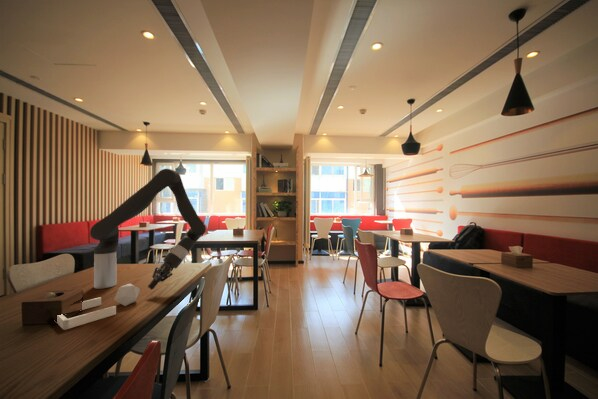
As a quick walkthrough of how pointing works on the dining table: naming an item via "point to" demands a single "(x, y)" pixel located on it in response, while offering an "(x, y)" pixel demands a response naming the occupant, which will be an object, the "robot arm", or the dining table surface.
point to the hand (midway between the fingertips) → (149, 288)
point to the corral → (88, 317)
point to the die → (127, 294)
